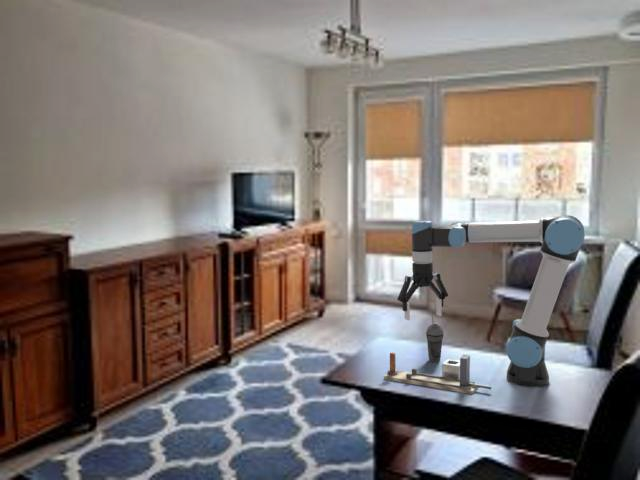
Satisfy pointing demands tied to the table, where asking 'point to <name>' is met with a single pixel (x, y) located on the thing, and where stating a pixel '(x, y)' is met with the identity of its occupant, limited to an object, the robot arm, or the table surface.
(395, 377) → the board
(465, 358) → the grey l-shaped block
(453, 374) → the link
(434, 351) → the beverage cup
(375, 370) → the table surface
